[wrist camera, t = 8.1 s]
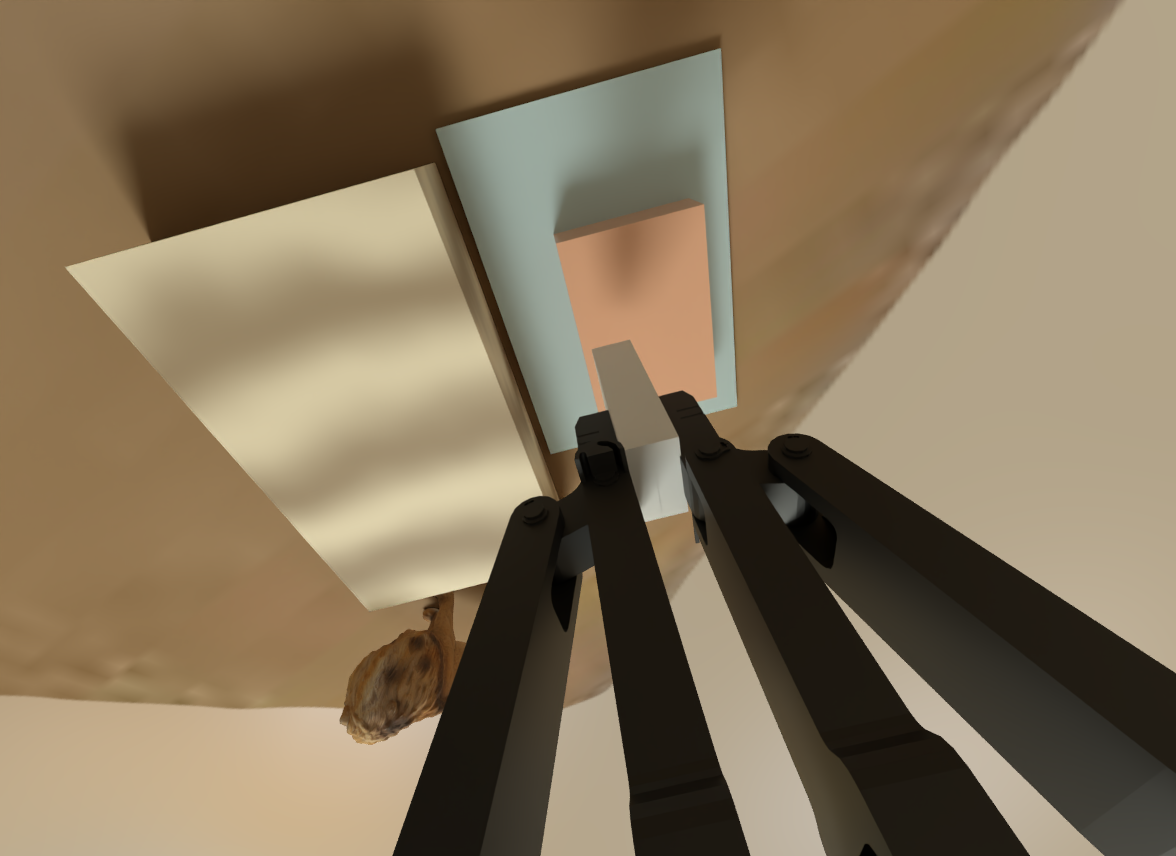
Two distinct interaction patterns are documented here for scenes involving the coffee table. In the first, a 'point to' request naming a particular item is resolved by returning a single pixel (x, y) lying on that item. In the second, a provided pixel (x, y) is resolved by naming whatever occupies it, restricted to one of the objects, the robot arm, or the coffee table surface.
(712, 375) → the tile
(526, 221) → the mat
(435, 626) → the lion figurine
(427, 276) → the plate
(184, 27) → the coffee table surface
